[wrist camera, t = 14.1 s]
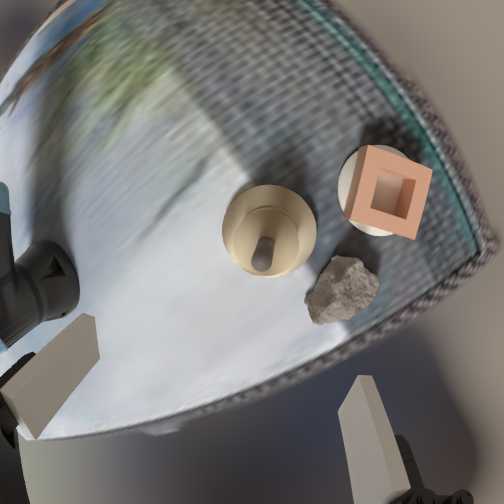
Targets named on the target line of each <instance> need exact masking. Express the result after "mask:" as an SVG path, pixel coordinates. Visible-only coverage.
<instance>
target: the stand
mask: <svg viewBox="0 0 504 504" xmlns="http://www.w3.org/2000/svg"><path fill="white" fill-rule="evenodd" d="M316 233H317V231H316V222H315V219H314V216H313V213H312V211H311V209H310V208H309V206H308V205H307V203H306V202H305V201H304V200H303V199H302V198H301V197H300V196H299V195H298V194H297V193H295V192H294V191H292V190H290V189H288V188H285V187H282V186H278V185H260V186H256V187H253V188H251V189H249V190H247V191H245V192H243V193H242V194H240V195H239V196H238V197H237V198H236V199H235V200H234V201H233V202H232V203H231V205H230V206H229V208H228V209H227V211H226V214H225V216H224V220H223V226H222V236H223V241H224V245H225V248H226V250H227V252H228V254H229V255H230V257H231V258H232V260H233V261H234V262H235V263H236V264H237V265H238V266H239V267H241V268H242V269H243V270H245V271H247V272H249V273H251V274H253V275H256V276H261V277H270V278H271V277H279V276H284V275H287V274H289V273H291V272H293V271H295V270H296V269H298V268H299V267H300V266H301V265H303V264H304V262H305V261H306V260H307V259H308V258H309V256H310V254H311V252H312V251H313V248H314V245H315V241H316Z"/></svg>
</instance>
